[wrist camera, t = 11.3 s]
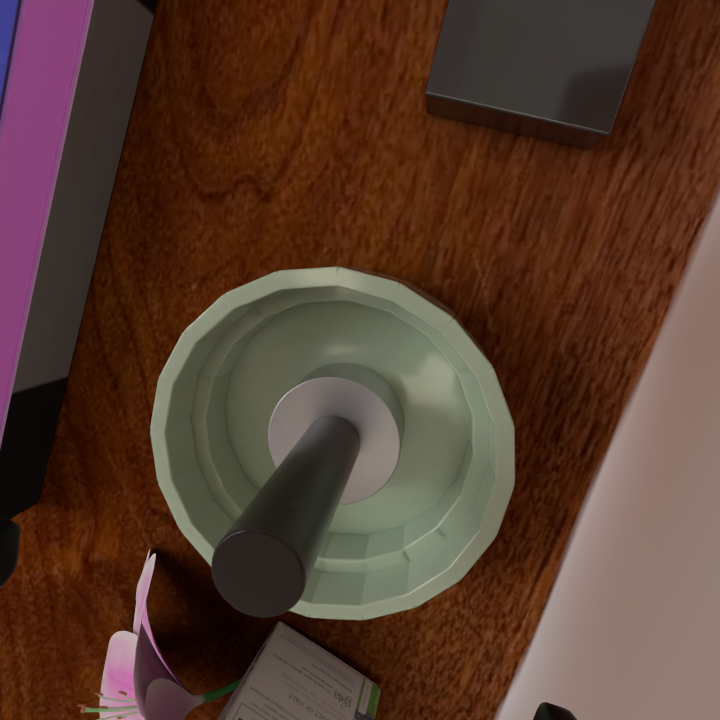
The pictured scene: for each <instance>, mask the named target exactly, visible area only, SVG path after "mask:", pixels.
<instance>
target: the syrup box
mask: <svg viewBox="0 0 720 720" xmlns="http://www.w3.org/2000/svg"><path fill="white" fill-rule="evenodd" d="M380 693H381V691H380V688H378V685H377V684H375V683H374V682H372V681H371V680H369V679H368V678H366V677H365V676H363V675H362V674H360V673H359V672H357V671H356V670H354V669H353V668H351V667H350V666H348V665H347V664H345V663H344V662H342V661H341V660H339V659H338V658H336V657H335V656H333V655H332V654H330V653H329V652H327V651H326V650H324V649H323V648H321V647H320V646H318V645H317V644H315V643H314V642H312V641H310V640H309V639H307V638H306V637H304V636H303V635H301V634H299V633H298V632H296V631H295V630H293V629H292V628H290V627H289V626H287V625H286V624H284V623H283V622H281V621H279V622H277V623H276V625H275V626H274V628H273V629H272V631H271V632H270V634H269V636H268V637H267V639H266V640H265V642H264V644H263V645H262V647H261V648H260V650H259V652H258V653H257V655H256V657H255V658H254V660H253V661H252V663H251V665H250V666H249V668H248V669H247V671H246V673H245V674H244V676H243V679H242V680H241V682H240V684H239V685H238V687H237V689H236V690H234V692H233V693H232V695H231V696H230V698H229V700H228V701H227V703H226V704H225V706H224V708H223V710H222V711H221V713H220V715H219V716H218V718H217V720H375V715H376V710H377V705H378V701H379V697H380Z"/></svg>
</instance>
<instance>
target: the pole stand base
mask: <svg viewBox="0 0 720 720" xmlns="http://www.w3.org/2000/svg"><path fill="white" fill-rule="evenodd" d="M655 2H656V0H448V4H447V8H446V12H445V16H444V20H443V24H442V28H441V32H440V36H439V39H438V43H437V47H436V51H435V55H434V59H433V63H432V67H431V71H430V75H429V78H428V82H427V86H426V90H425V103H426V112H427V113H429V114H433V115H438V116H442V117H447V118H451V119H455V120H460V121H464V122H469V123H473V124H477V125H482V126H486V127H491V128H495V129H499V130H504V131H508V132H512V133H517V134H521V135H526V136H530V137H534V138H539V139H543V140H548V141H552V142H556V143H561V144H565V145H570V146H574V147H578V148H583V149H587V150H590V149H592V148H593V147H594V146H596V145H597V144H598V143H600V142H601V141H602V140H604V139H605V138H606V137H608V136H609V135H610V134H611V131H612V128H613V125H614V122H615V119H616V116H617V113H618V110H619V107H620V104H621V101H622V99H623V96H624V93H625V90H626V87H627V84H628V81H629V78H630V75H631V72H632V69H633V66H634V64H635V61H636V58H637V55H638V52H639V49H640V46H641V43H642V40H643V37H644V34H645V31H646V29H647V26H648V23H649V20H650V17H651V14H652V11H653V8H654V5H655Z"/></svg>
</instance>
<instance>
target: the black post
mask: <svg viewBox="0 0 720 720" xmlns="http://www.w3.org/2000/svg"><path fill="white" fill-rule="evenodd" d="M404 428H405V417H404V411H403V407H402V404H401V401H400V399H399V397H398V395H397V393H396V392H395V390H394V389H393V387H392V386H391V385H390V384H389V383H388V381H387V380H385V379H384V378H383V377H382V376H381V375H379V374H378V373H376V372H375V371H373V370H371V369H369V368H367V367H364V366H361V365H358V364H353V363H333V364H328V365H325V366H322V367H320V368H318V369H316V370H314V371H312V372H311V373H309V374H308V375H307V376H306V377H304V378H303V379H302V380H301V381H300V382H299V383H297V384H296V385H295V386H294V387H293V388H292V389H290V390H289V391H288V392H287V393H286V394H285V395H284V396H283V397H282V398H281V399H280V401H279V402H278V404H277V405H276V407H275V409H274V411H273V413H272V416H271V419H270V422H269V428H268V444H269V450H270V454H271V457H272V460H273V462H274V465H275V466H276V468H277V469H276V470H275V471H274V473H273V474H272V475H271V477H270V478H269V479H268V481H267V482H266V483H265V484H264V486H263V487H262V488H261V490H260V491H259V492H258V493H257V495H256V496H255V497H254V499H253V500H252V501H251V502H250V504H249V505H248V506H247V508H246V509H245V510H244V511H243V513H242V514H241V515H240V517H239V518H238V519H237V520H236V522H235V523H234V524H233V526H232V527H231V528H230V529H229V531H228V532H227V533H226V535H225V536H224V537H223V538H222V540H221V541H220V542H219V544H218V545H217V547H216V549H215V551H214V553H213V557H212V563H211V571H212V577H213V581H214V583H215V586H216V588H217V590H218V591H219V593H220V594H221V596H222V597H223V598H224V599H225V600H226V601H227V602H228V603H229V604H230V605H231V606H232V607H234V608H235V609H237V610H239V611H241V612H242V613H245V614H247V615H251V616H255V617H274V616H278V615H281V614H283V613H285V612H287V611H288V610H290V609H291V608H292V607H294V606H295V605H296V604H297V602H298V601H299V600H300V598H301V596H302V594H303V592H304V590H305V587H306V585H307V582H308V580H309V577H310V575H311V572H312V570H313V567H314V565H315V562H316V560H317V557H318V555H319V552H320V550H321V547H322V545H323V542H324V540H325V537H326V535H327V532H328V530H329V527H330V525H331V522H332V520H333V517H334V515H335V512H336V510H337V507H338V505H346V504H352V503H356V502H360V501H362V500H365V499H367V498H369V497H371V496H373V495H374V494H376V493H377V492H378V491H380V490H381V489H382V488H383V487H384V486H385V485H386V484H387V482H388V481H389V480H390V478H391V477H392V475H393V473H394V472H395V470H396V467H397V464H398V462H399V457H400V452H401V446H402V441H403V435H404Z"/></svg>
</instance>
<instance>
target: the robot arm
mask: <svg viewBox="0 0 720 720" xmlns="http://www.w3.org/2000/svg"><path fill="white" fill-rule="evenodd" d="M19 540H20V527H19V525H18V524H17V523H16V522H13V521H10V520H7V519H4V518H1V517H0V588H1V587H2V586H3V585H4V584H5V583H6V582H7V581H8V580H9V578H10V577H11V576H12V574H13V572H14V570H15V568H16V565H17V560H18V550H19ZM533 720H577V719H576V718H575V716H574V715H573V714H572V713H571V712H570V711H569V710H567V709H565V708H562V707H559V706H556V705H553V704H550V703H547V702H545V703H542V704H540V706H539V707H538V709H537V711H536V714H535V716H534V719H533Z"/></svg>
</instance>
